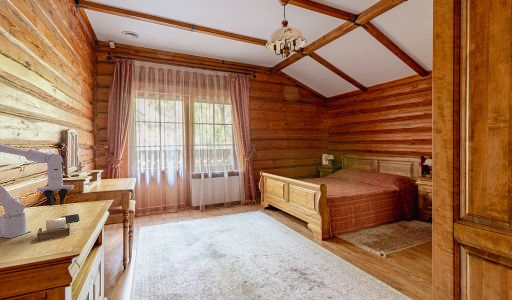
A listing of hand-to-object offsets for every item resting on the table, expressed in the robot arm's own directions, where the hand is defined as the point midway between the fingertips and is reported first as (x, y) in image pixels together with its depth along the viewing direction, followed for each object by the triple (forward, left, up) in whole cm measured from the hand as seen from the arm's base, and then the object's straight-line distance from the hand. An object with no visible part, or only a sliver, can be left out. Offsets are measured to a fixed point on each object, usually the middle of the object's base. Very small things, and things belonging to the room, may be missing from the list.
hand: (57, 204), depth 121 cm
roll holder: (+13, -11, -10) cm, 20 cm away
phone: (-3, +9, -11) cm, 14 cm away
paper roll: (+5, -4, -8) cm, 10 cm away
